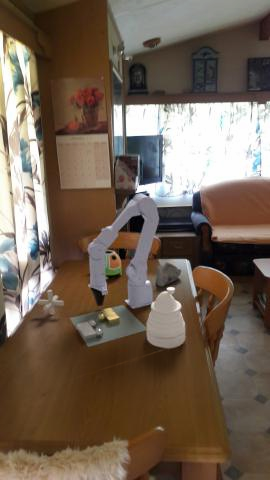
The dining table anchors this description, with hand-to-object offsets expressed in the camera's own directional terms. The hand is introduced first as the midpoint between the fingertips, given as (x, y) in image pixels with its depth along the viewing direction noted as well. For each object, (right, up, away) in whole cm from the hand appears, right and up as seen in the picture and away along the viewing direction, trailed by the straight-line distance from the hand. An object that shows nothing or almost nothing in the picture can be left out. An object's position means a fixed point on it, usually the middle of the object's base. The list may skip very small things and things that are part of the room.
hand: (99, 305), depth 141 cm
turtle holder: (0, +8, +37) cm, 38 cm away
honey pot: (+24, -7, -21) cm, 33 cm away
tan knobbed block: (+3, -4, -8) cm, 10 cm away
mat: (+4, -5, -11) cm, 13 cm away
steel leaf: (-2, -7, -17) cm, 18 cm away
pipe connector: (-18, -3, -2) cm, 19 cm away
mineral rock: (+30, +6, +24) cm, 38 cm away
